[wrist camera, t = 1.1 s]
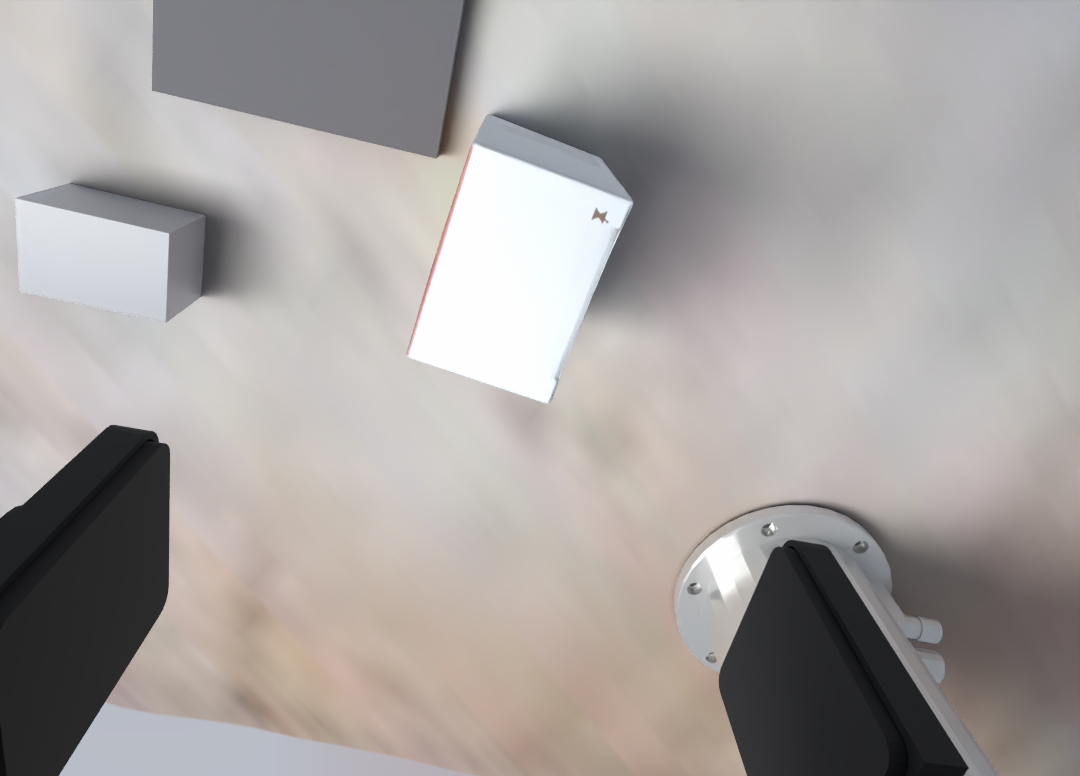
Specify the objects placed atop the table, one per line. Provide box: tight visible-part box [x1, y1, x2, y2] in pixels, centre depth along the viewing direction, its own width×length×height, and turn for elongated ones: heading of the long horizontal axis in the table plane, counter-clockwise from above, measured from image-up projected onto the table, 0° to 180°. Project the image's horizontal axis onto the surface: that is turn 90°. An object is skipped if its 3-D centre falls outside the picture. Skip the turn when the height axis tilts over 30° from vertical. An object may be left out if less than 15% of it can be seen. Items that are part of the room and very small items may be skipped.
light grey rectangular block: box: [15, 183, 206, 323], centre depth 32 cm, size 6×4×4 cm, turn 76°
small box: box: [406, 114, 633, 404], centre depth 29 cm, size 8×6×10 cm
